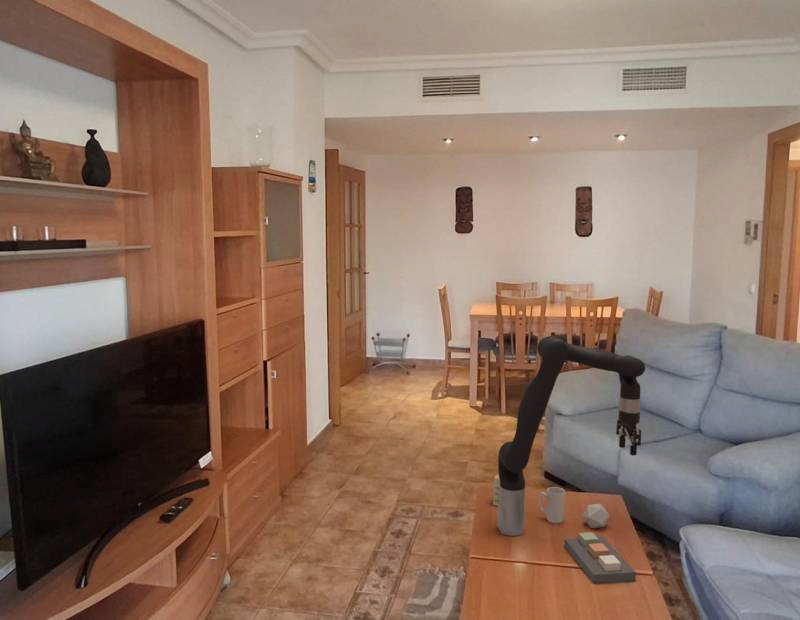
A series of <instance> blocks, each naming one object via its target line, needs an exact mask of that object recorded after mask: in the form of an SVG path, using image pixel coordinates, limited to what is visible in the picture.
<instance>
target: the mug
mask: <svg viewBox="0 0 800 620" xmlns="http://www.w3.org/2000/svg"><path fill="white" fill-rule="evenodd" d="M544 497H545V498H546V508H544V507H543V505H542V499H543V498H544ZM565 500H566V490H565V489H564V488H562V487H557V486H552V487H548V488H547V489H546V492H544V491H541V492H540V495H539V496H538V500H537V503H538V507H539V510H540V512H541V513H544V514H546V520H547V522H549V523H552V524H562V523H563V522H564V519H565V518H564V517H565V516H564V515H565Z"/></svg>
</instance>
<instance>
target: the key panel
mask: <svg viewBox="0 0 800 620" xmlns="http://www.w3.org/2000/svg"><path fill="white" fill-rule="evenodd" d="M596 537H597V538H598V543H603V544H604V545H605V547H606V548H607V549H608V550H609V555H614V556H615V557H616V558H617V560H618V561H619V562H620V563H621V566H620V571H614V572H604V571H603V569H602V568H601V567H600V566H599V565H598V563H599V559H593V558H592V556H591V555H590V554H589V553H588V547H583V546H582V545H581V544H580V542H579V541H578V539H579V537H567V538H566V537H565V538H564V541H563V542H564V543H563V544H564V546H563V547H564V549H566V551H567V552H568V554H570V556H571V557H572V558H573V560H574V561H575V562H576V563H577V565H578V566H579V567H580V568H581V570H582V571H583V572H584V573H585V575H586V576H587V578H589V580H590V581H591V583H593V584H594V585H596V584H611V583H612V584H613V583H623V582H624V583H625V582H626V583H627V582H636V580H637V579H636V577H637V571H636V570H635V569H634V568H633V567H632V566H631V565H630V564H629V563H628V562H627V561H626V560H625V559H624V557H623V556H621V554H620V553H619V552H618V551H617V550H616V549H615V548H614V547H613V546H612V545H611V544H610V543H609V542H608V541H607V540H606V539H605V538H604V536H603V535H602V536H601V535H600V536H596Z"/></svg>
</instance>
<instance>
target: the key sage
mask: <svg viewBox="0 0 800 620" xmlns="http://www.w3.org/2000/svg"><path fill="white" fill-rule="evenodd" d="M597 537H598V536H596V535H595V533H593V532H591V531H589V532H588V531H587V532H578V538H579V539H578V541H579V542H580V544H581V545H582V546H583V547H588V544H598V538H597Z"/></svg>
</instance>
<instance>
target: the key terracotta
mask: <svg viewBox="0 0 800 620" xmlns="http://www.w3.org/2000/svg"><path fill="white" fill-rule="evenodd" d="M588 553H589V554H590V555H591V556H592V558H593V559H599V556H606V555H609V550H608V549H607V548H606V547H605V545H604V544H603V543H598V544H588Z"/></svg>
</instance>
